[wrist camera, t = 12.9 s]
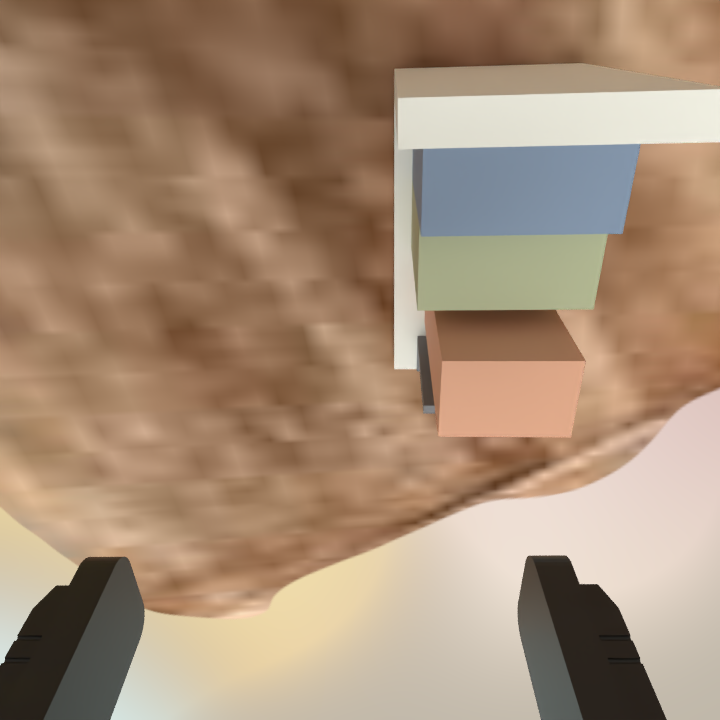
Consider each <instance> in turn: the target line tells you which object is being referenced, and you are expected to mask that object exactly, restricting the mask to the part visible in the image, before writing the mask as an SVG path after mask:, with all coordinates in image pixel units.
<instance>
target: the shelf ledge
mask: <svg viewBox="0 0 720 720" xmlns="http://www.w3.org/2000/svg"><path fill="white" fill-rule="evenodd" d="M701 142H720V86H715V85H709V84H703V83H697V82H692V81H686V80H680V79H674V78H668V77H662V76H656V75H650V74H644V73H639V72H633V71H627V70H621V69H615V68H609V67H603V66H597V65H591V64H585V63H568V64H535V65H501V66H468V67H435V68H401V69H394V369H417V371H420V379H421V391H422V402H423V413H435V405H434V397H433V389H432V380H431V372H430V364H429V355H428V347H427V339H426V330H425V322H424V321H425V311H441V310H572V309H594V304H595V299H596V294H597V288H598V283H599V278H600V272H601V267H602V262H603V257H604V251H605V246H606V241H607V236H608V234H622V233H623V228H624V224H625V219H626V214H627V209H628V204H629V199H630V194H631V189H632V184H633V179H634V174H635V169H636V164H637V159H638V154H639V150H640V145H641V144H657V143H701Z"/></svg>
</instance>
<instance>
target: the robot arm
mask: <svg viewBox="0 0 720 720" xmlns="http://www.w3.org/2000/svg"><path fill="white" fill-rule="evenodd" d="M143 625H144V604H143V601H142V598H141V595H140V592H139V589H138V586H137V582H136V579H135V576H134V573H133V570H132V567H131V564H130V562H129V560H128V558H126V557H88V558H86V559H85V560H83V562H82V563H81V564H80V566H79V568H78V570H77V571H76V573H75V575H74V577H73V579H72V581H71V583H70V585H69V586H55V587H54V588H53V589H52V590H51V591H50V592H49V593H48V594H47V595H46V596H45V597H44V598H43V599H42V600H41V601H40V602H39V603H38V604H37V605H36V606H35V607H34V608H33V609H32V611H31V613H30V614H29V616H28V618H27V620H26V622H25V623H24V625H23V627H22V629H21V631H20V632H19V634H18V639H17V640H16V641H14V642H13V644H12V646H11V648H10V649H9V651H8V653H7V655H6V657H5V662H4V663H2V664H1V665H0V720H110V719H111V716H112V713H113V711H114V708H115V705H116V702H117V700H118V697H119V694H120V692H121V688H122V686H123V683H124V681H125V678H126V675H127V673H128V670H129V667H130V665H131V662H132V659H133V657H134V654H135V651H136V648H137V646H138V643H139V640H140V637H141V634H142V630H143ZM518 625H519V631H520V636H521V641H522V645H523V649H524V653H525V657H526V661H527V665H528V669H529V673H530V677H531V681H532V685H533V689H534V693H535V697H536V701H537V705H538V709H539V713H540V717H541V720H667V719H666V717H665V715H664V712H663V710H662V708H661V705H660V703H659V701H658V699H657V696H656V694H655V692H654V689H653V687H652V685H651V682H650V680H649V678H648V675H647V673H646V671H645V668H644V666H643V664H641V662H640V657H639V654H638V652H637V650H636V647H635V645H634V643H633V641H631V639H630V633H629V631H628V629H627V626H626V624H625V622H624V619H623V617H622V615H621V612H620V610H619V608H618V607H617V606H616V604H615V603H614V602H613V601H612V600H611V599H610V598H609V597H608V595H607V594H606V593H605V592H604V591H603V590H602V589H601V588H600V587H599V585H597V584H579V582H578V579H577V577H576V574H575V571H574V568H573V566H572V564H571V561H570V559H569V558H568V557H567V556H528V557H527V559H526V563H525V568H524V573H523V579H522V585H521V590H520V596H519V601H518Z"/></svg>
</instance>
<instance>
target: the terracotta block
mask: <svg viewBox="0 0 720 720" xmlns="http://www.w3.org/2000/svg"><path fill="white" fill-rule="evenodd" d="M424 322H425V330H426V339H427V347H428V355H429V364H430V372H431V380H432V389H433V397H434V405H435V414H436V422H437V430H438V436H442V437H571V434H572V429H573V424H574V419H575V414H576V408H577V403H578V398H579V393H580V388H581V383H582V378H583V373H584V368H585V362H586V361H585V359H584V357H583V356H582V354H581V352H580V351H579V349H578V347H577V346H576V344H575V342H574V341H573V339H572V337H571V335H570V334H569V332H568V330H567V329H566V327H565V325H564V324H563V322H562V320H561V319H560V317H559V315H558V314H557V312H556V310H441V311H425V321H424Z"/></svg>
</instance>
